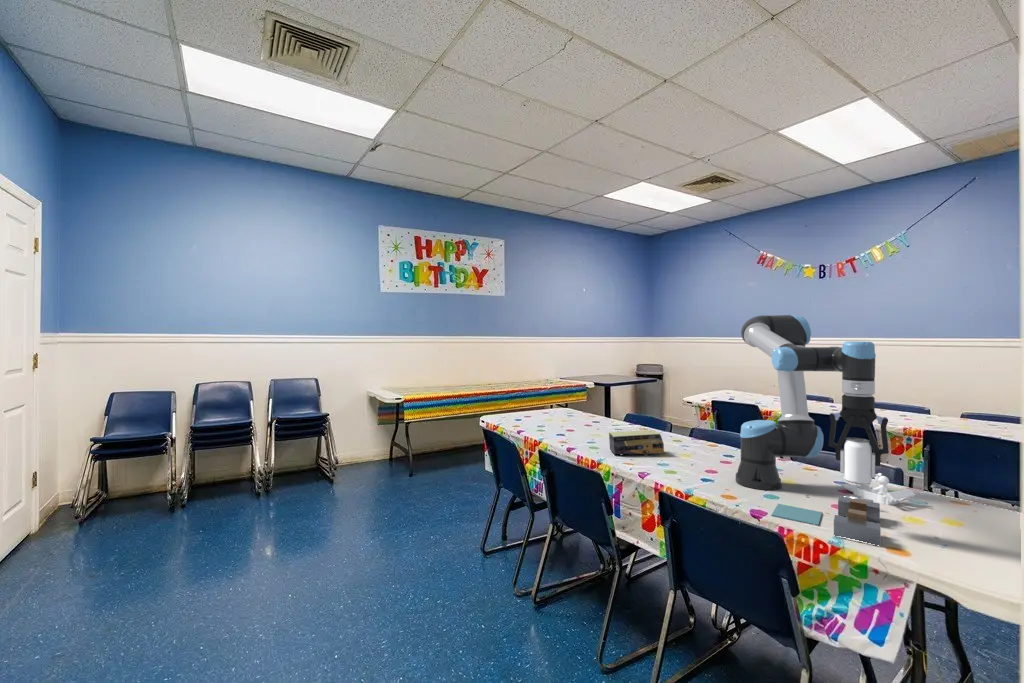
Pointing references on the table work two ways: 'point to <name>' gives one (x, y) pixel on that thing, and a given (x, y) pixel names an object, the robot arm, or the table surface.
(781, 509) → the mat
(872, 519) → the vise
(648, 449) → the toy bus
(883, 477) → the toy boat
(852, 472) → the can
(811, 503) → the table surface
